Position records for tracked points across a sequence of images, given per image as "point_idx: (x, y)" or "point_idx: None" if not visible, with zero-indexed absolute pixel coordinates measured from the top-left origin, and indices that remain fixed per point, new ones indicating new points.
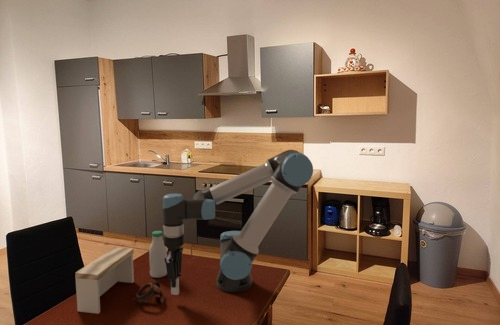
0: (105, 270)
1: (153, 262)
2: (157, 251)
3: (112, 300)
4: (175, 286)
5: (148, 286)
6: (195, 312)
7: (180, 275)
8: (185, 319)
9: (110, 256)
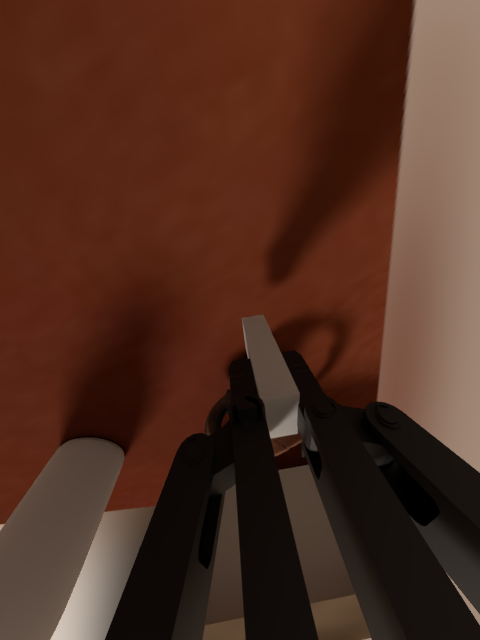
0: None
1: (92, 529)
2: (28, 630)
3: None
4: (287, 354)
5: None
6: (318, 153)
7: (254, 405)
8: (388, 181)
9: None
